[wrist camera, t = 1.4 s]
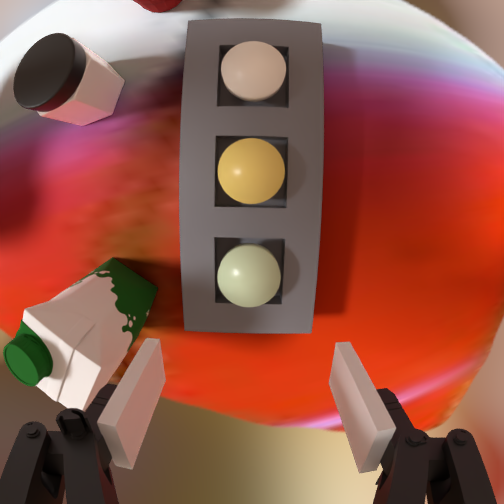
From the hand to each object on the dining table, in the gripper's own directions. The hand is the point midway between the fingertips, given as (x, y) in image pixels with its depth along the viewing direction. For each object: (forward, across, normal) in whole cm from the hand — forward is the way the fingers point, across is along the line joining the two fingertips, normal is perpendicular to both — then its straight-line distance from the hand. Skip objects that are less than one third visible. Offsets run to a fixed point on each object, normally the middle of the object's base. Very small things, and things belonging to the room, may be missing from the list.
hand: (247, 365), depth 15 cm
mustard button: (+16, 0, +10) cm, 19 cm away
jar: (+22, -20, +21) cm, 36 cm away
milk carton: (+22, -16, -5) cm, 27 cm away
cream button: (+16, 0, +20) cm, 26 cm away
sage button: (+16, 0, 0) cm, 16 cm away
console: (+21, 0, +10) cm, 24 cm away
